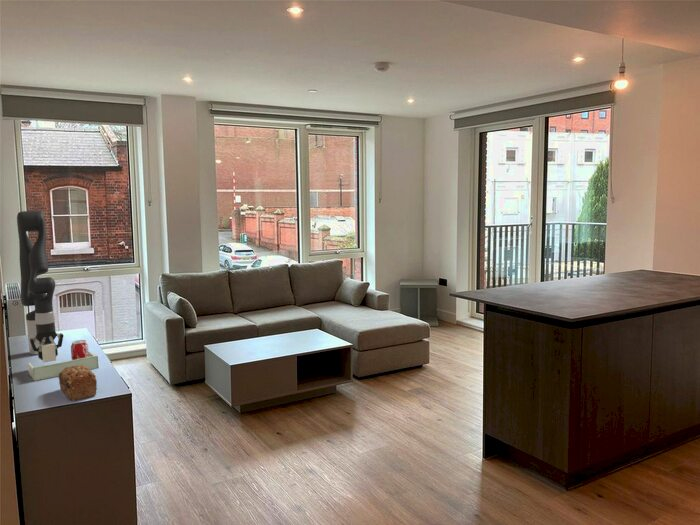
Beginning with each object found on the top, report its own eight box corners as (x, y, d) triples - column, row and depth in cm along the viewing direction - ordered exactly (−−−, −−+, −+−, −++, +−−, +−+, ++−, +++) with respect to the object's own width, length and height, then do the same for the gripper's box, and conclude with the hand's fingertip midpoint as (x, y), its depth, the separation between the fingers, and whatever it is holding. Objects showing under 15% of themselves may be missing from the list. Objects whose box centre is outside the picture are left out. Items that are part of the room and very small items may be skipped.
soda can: (82, 370, 247) (80, 344, 245) (68, 369, 248) (66, 343, 247) (93, 365, 254) (91, 339, 252) (79, 364, 255) (77, 339, 254)
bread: (98, 396, 214) (96, 371, 213) (68, 403, 208) (65, 377, 207) (87, 383, 229) (85, 360, 228) (58, 389, 223) (56, 365, 221)
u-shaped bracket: (28, 373, 243) (27, 361, 243) (90, 361, 260) (89, 350, 259) (34, 380, 234) (33, 368, 233) (98, 367, 250) (97, 355, 249)
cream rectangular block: (40, 359, 253) (39, 343, 251) (53, 357, 256) (51, 341, 255) (43, 362, 248) (42, 346, 247) (56, 360, 251) (55, 344, 250)
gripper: (60, 317, 257) (63, 353, 259) (25, 322, 248) (28, 359, 250) (64, 320, 251) (67, 356, 253) (28, 325, 242) (32, 363, 244)
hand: (48, 357), depth 252 cm, fingers closed on cream rectangular block, 5 cm apart
